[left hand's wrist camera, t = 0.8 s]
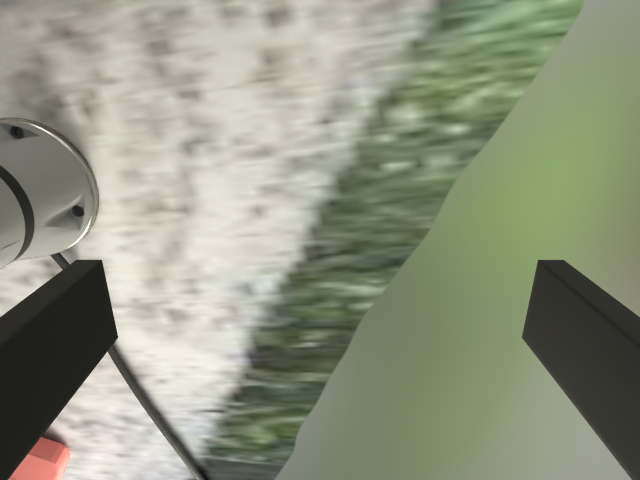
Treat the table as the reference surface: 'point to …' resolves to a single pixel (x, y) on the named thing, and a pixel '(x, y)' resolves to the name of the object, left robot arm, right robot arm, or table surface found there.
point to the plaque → (43, 462)
